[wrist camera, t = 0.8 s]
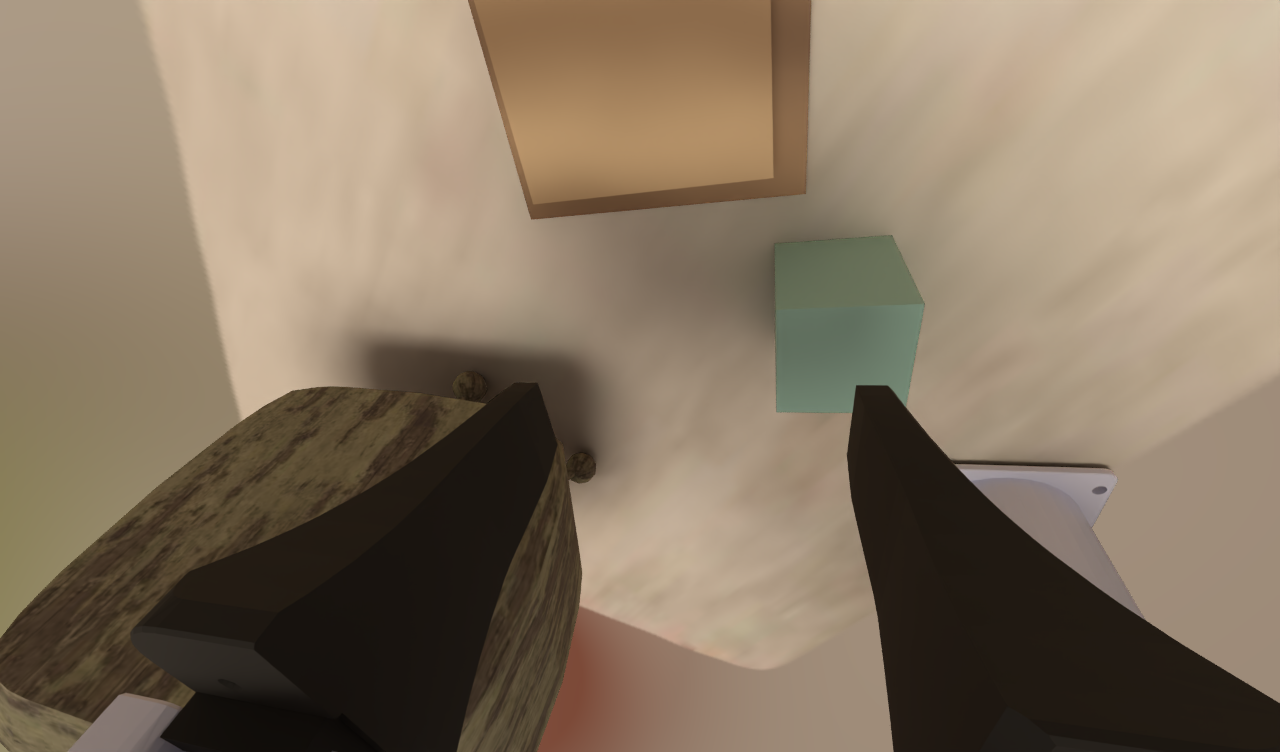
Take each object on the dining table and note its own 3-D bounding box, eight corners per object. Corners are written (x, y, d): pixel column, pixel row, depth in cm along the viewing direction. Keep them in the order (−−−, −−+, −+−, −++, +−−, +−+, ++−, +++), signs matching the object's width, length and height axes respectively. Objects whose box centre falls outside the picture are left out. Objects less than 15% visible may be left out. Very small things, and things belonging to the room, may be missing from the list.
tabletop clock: (389, 449, 31) (-221, 1208, 12) (333, 322, 26) (-957, 1342, 7) (621, 481, 29) (324, 1493, 10) (612, 349, 24) (-114, 2082, 4)
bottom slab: (803, 179, 18) (805, 193, 17) (544, 205, 21) (531, 219, 20) (814, -239, 13) (818, -261, 11) (453, -134, 15) (426, -143, 14)
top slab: (773, 163, 17) (773, 177, 16) (547, 190, 19) (533, 204, 18) (767, -187, 12) (767, -204, 11) (469, -102, 14) (442, -108, 13)
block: (878, 331, 21) (904, 413, 17) (775, 334, 22) (776, 412, 18) (891, 234, 18) (924, 303, 14) (774, 243, 19) (776, 309, 15)
